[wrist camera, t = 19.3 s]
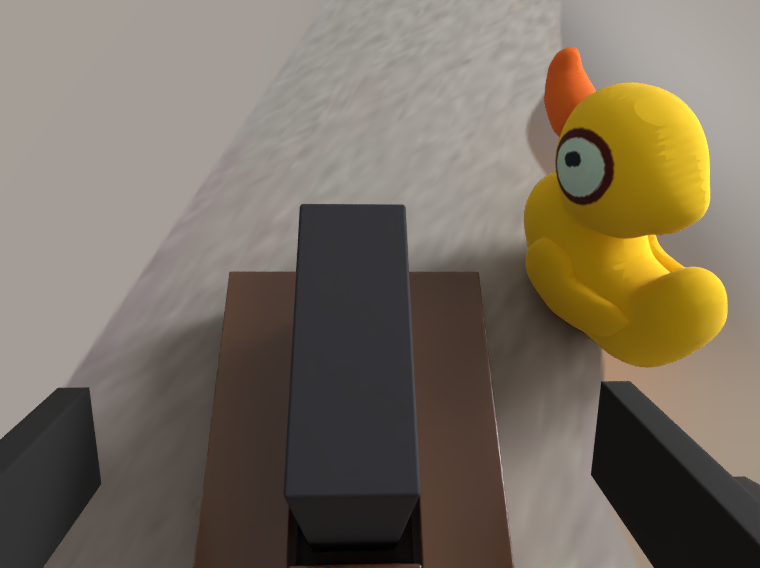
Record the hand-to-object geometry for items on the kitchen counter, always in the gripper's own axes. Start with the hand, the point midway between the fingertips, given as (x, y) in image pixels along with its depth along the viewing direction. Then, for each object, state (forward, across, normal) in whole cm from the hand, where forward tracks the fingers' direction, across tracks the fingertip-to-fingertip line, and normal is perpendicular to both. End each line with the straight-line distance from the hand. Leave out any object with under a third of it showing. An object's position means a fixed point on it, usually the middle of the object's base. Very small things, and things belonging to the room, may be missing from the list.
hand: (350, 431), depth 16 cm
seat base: (+7, 0, -4) cm, 9 cm away
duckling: (+12, +10, 0) cm, 16 cm away
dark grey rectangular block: (+7, 0, -4) cm, 9 cm away
